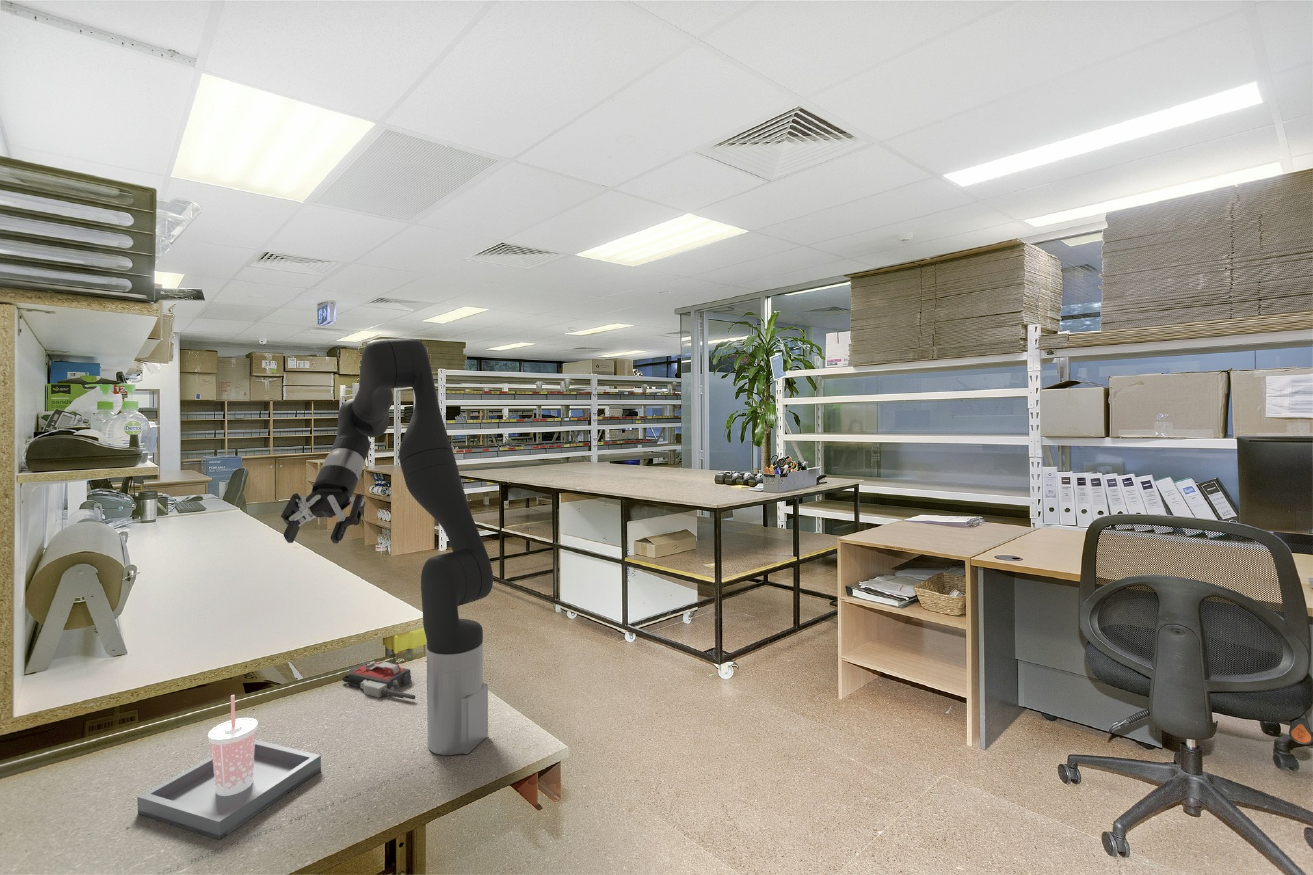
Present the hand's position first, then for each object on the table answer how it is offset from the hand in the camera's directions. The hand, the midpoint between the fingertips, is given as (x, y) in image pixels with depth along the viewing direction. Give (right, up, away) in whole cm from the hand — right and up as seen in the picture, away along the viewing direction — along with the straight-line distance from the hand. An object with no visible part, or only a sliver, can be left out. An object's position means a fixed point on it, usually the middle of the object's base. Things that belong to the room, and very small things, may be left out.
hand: (311, 541), depth 113 cm
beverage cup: (+3, -33, -24) cm, 41 cm away
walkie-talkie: (+10, -33, +9) cm, 35 cm away
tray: (+3, -33, -24) cm, 41 cm away
